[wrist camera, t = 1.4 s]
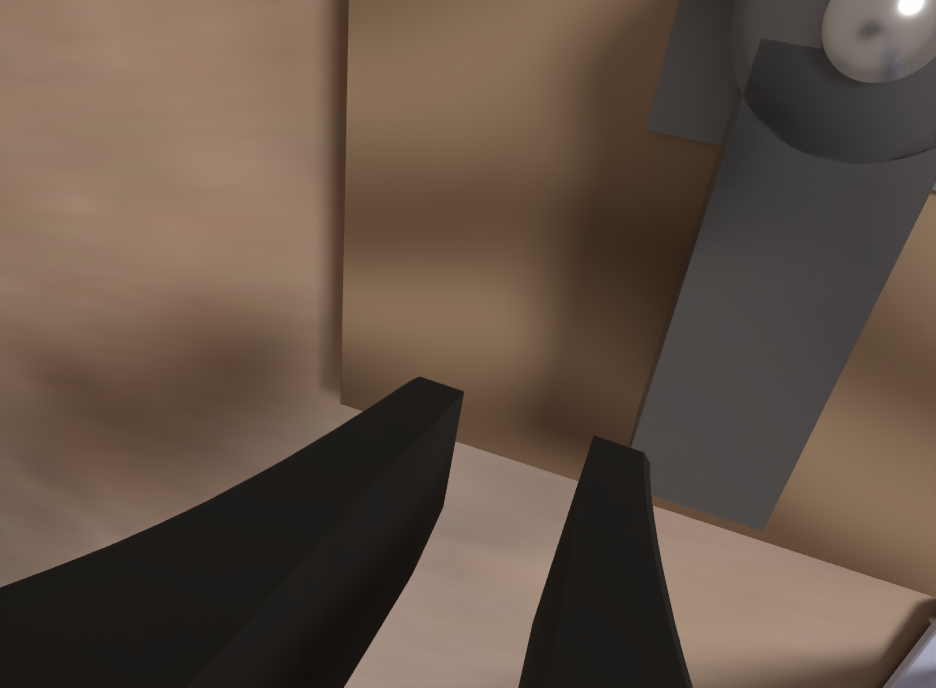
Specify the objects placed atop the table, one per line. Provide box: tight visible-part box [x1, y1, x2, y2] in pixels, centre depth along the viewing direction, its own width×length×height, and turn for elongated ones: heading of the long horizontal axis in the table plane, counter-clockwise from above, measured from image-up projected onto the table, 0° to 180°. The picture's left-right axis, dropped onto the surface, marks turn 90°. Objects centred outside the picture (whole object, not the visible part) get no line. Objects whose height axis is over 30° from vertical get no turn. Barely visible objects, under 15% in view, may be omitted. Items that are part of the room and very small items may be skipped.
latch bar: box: [629, 0, 936, 531], centre depth 13 cm, size 12×4×3 cm, turn 173°
